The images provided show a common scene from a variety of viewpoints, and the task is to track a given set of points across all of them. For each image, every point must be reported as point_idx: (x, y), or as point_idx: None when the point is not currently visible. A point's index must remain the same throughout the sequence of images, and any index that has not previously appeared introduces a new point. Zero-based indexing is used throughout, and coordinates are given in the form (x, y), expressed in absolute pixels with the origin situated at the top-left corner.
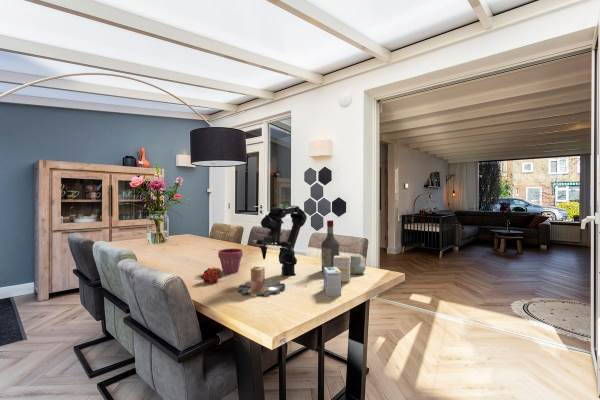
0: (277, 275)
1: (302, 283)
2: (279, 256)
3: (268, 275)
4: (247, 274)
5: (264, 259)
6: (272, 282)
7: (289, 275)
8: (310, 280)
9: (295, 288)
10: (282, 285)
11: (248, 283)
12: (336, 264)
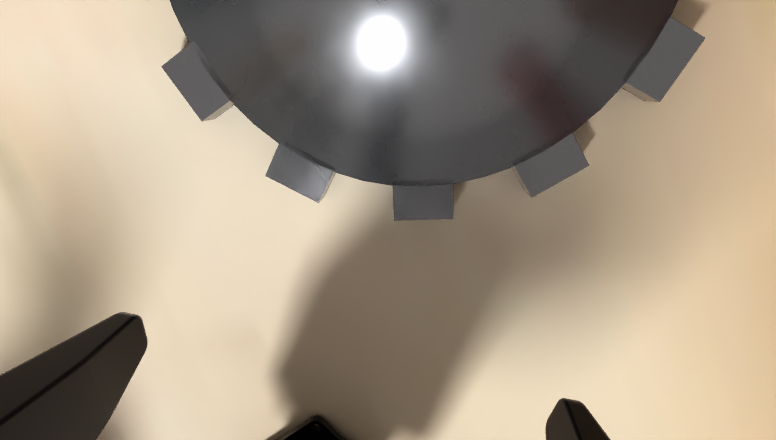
0: (410, 435)
1: (69, 232)
2: (18, 399)
3: (501, 425)
4: (742, 430)
5: (550, 416)
6: (342, 126)
7: (286, 434)
8: (45, 334)
9: (53, 48)
10: (188, 48)
11: (643, 15)
12: None
